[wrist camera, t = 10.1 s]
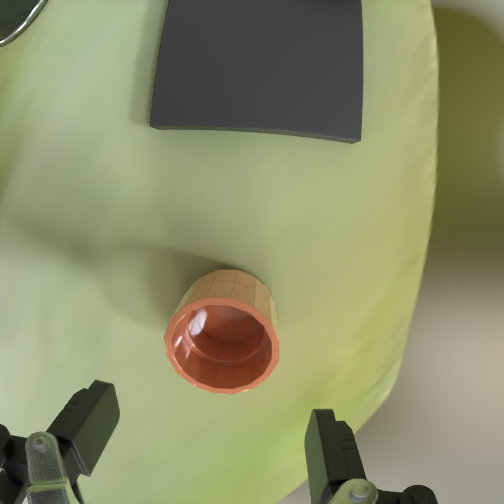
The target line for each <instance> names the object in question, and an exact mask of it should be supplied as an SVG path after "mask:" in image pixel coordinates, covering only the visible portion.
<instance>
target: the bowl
mask: <svg viewBox="0 0 504 504" xmlns="http://www.w3.org/2000/svg"><path fill="white" fill-rule="evenodd" d="M164 340H165V347H166V353H167V357H168V359H169V360H170V362H171V364H172V365H173V367H174V368H175V370H176V372H177V373H178V374H179V375H180V376H182V377H183V378H184V379H186V380H187V381H188V382H189V383H191V384H192V385H194V386H196V387H198V388H201V389H204V390H207V391H209V392H212V393H225V394H236V393H239V392H243V391H247V390H250V389H253V388H255V387H256V386H258V385H259V384H261V383H262V382H263V381H265V380H266V379H267V378H269V377H270V375H271V373H272V372H273V370H274V368H275V366H276V365H277V363H278V361H279V348H280V339H279V329H278V320H277V310H276V304H275V302H274V300H273V297H272V295H271V293H270V291H269V289H268V288H267V287H266V286H265V285H264V284H263V283H262V282H260V281H259V280H258V279H257V278H256V277H255V276H252V275H250V274H247V273H245V272H242V271H240V270H224V269H219V270H216V271H213V272H211V273H208V274H206V275H203V276H201V277H200V278H199V279H198V280H197V281H196V282H195V283H194V284H193V285H192V286H191V287H190V288H189V289H188V291H187V292H186V294H185V296H184V297H183V299H182V301H181V302H180V304H179V306H178V307H177V309H176V310H175V312H174V314H173V316H172V317H171V319H170V321H169V324H168V327H167V330H166V333H165V336H164Z"/></svg>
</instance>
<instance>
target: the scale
mask: <svg viewBox="0 0 504 504" xmlns="http://www.w3.org/2000/svg"><path fill="white" fill-rule="evenodd" d="M362 106H363V25H362V5H361V0H169V3H168V8H167V13H166V17H165V22H164V28H163V33H162V38H161V44H160V50H159V56H158V62H157V69H156V76H155V83H154V91H153V99H152V108H151V117H150V126H151V127H153V128H156V129H159V130H167V129H185V130H224V131H243V132H258V133H270V134H281V135H291V136H300V137H309V138H317V139H324V140H332V141H338V142H345V143H351V144H353V143H356V142H359V141H361V127H362Z"/></svg>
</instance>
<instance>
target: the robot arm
mask: <svg viewBox="0 0 504 504" xmlns="http://www.w3.org/2000/svg"><path fill="white" fill-rule="evenodd" d="M46 2H47V0H0V47H1V46H3V45H5V44H7V43H9V42H10V41H12V40H13V39H15V38H16V37H17V36H18V35H19V34H21V33H22V32H23V31H24V30H25V29H26V28H27V27H28V26H29V24H30V23H31V22H32V21H33V20H34V19H35V17H36V16H37V15H38V14H39V12H40V11H41V9H42V8H43V7H44V5H45V3H46ZM119 416H120V410H119V405H118V401H117V397H116V392H115V387H114V385H113V384H111V383H107V382H103V381H99V380H95V381H94V382H93V383H92V384H91V386H90V387H89V388H88V389H85V388H83V389H81V390H80V391H78V392H77V393H75V394H74V395H73V396H72V398H71V399H70V400H69V401H68V403H67V404H66V405H65V407H64V409H62V411H61V412H60V413H59V415H58V416H57V417H56V419H55V420H54V421H53V423H52V424H51V425H50V427H49V428H48V429H47V431H46V432H36V433H33V434H32V435H30V436H29V437H28V438H24V437H18V436H13V435H10V433H9V431H8V429H7V428H6V427H5V426H4V425H1V424H0V468H1V469H2V470H1V472H0V504H22V502H23V500H24V499H25V497H26V495H27V498H28V504H86V502H85V500H84V497H83V494H82V491H81V488H80V485H79V482H78V479H77V478H78V477H79V475H80V473H81V474H83V475H86V476H88V477H90V475H91V473H92V471H93V469H94V467H95V465H96V463H97V461H98V459H99V458H100V456H101V454H102V452H103V450H104V448H105V446H106V444H107V442H108V440H109V438H110V437H111V435H112V433H113V431H114V429H115V427H116V425H117V423H118V421H119ZM305 454H306V462H307V470H308V478H309V487H310V495H311V504H438V502H437V500H436V497H435V494H434V493H433V491H432V490H431V489H430V488H428V487H426V486H423V485H413V486H410V487H408V488H406V489H405V490H404V491H403V492H390V491H382V490H379V489H377V488H376V487H375V485H374V484H372V483H371V482H369V481H368V480H367V479H366V476H365V472H364V469H363V465H362V462H361V459H360V455H359V452H358V449H357V445H356V442H355V438H354V435H353V432H352V429H351V428H350V427H349V426H348V425H347V423H346V422H345V421H336V420H335V416H334V412H333V410H332V409H313V410H312V413H311V417H310V420H309V424H308V428H307V431H306V435H305Z"/></svg>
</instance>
